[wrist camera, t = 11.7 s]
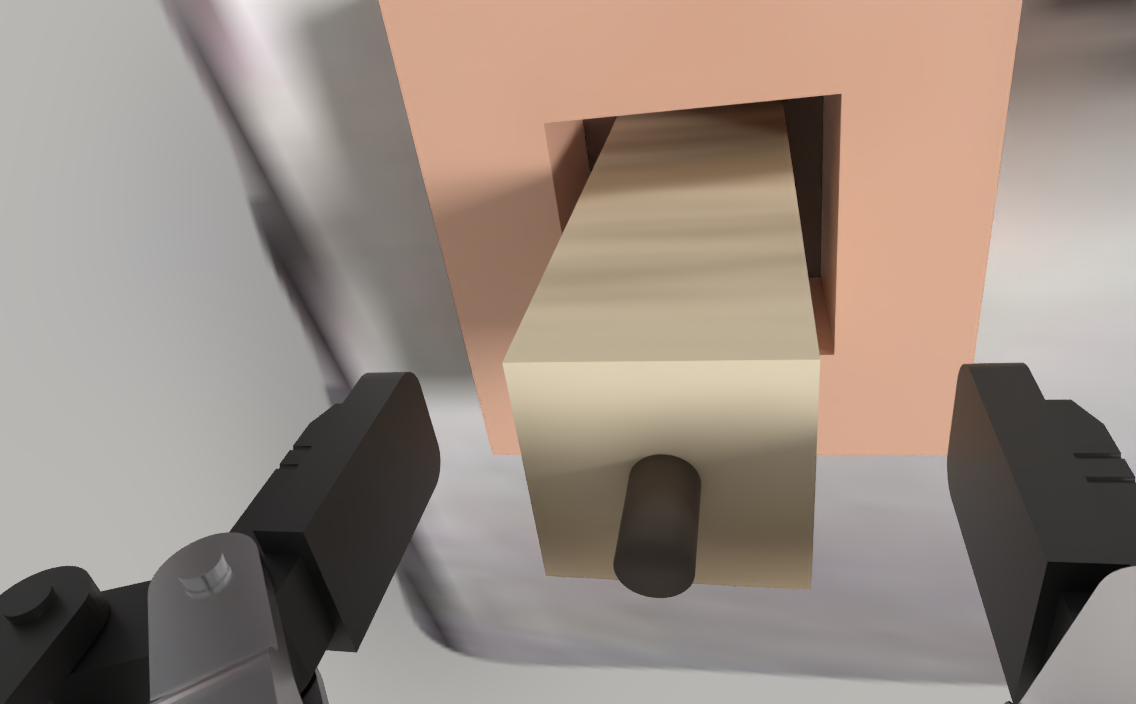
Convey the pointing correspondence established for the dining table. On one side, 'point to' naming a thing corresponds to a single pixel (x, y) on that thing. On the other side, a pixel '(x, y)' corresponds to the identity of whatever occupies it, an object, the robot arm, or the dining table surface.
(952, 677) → the dining table surface
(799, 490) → the birch peg
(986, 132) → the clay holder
